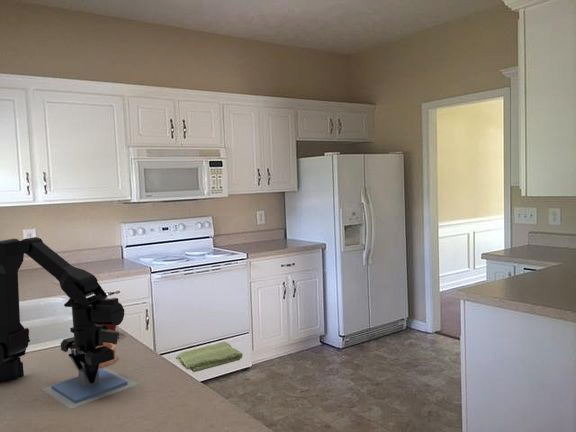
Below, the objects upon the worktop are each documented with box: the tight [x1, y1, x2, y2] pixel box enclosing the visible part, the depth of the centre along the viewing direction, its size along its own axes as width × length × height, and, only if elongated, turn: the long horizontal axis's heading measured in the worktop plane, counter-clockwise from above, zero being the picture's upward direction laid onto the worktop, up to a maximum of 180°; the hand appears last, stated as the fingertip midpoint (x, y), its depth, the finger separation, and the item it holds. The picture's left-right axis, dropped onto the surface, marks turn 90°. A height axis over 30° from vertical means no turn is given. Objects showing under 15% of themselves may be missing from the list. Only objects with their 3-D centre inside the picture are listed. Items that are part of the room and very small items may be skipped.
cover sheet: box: [50, 368, 128, 403], centre depth 134 cm, size 14×14×5 cm
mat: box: [40, 367, 139, 410], centre depth 134 cm, size 18×18×1 cm
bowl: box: [97, 343, 118, 369], centre depth 152 cm, size 11×11×5 cm
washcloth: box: [175, 341, 244, 373], centre depth 153 cm, size 13×18×3 cm
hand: (89, 381), depth 134 cm, fingers closed on cover sheet, 3 cm apart
